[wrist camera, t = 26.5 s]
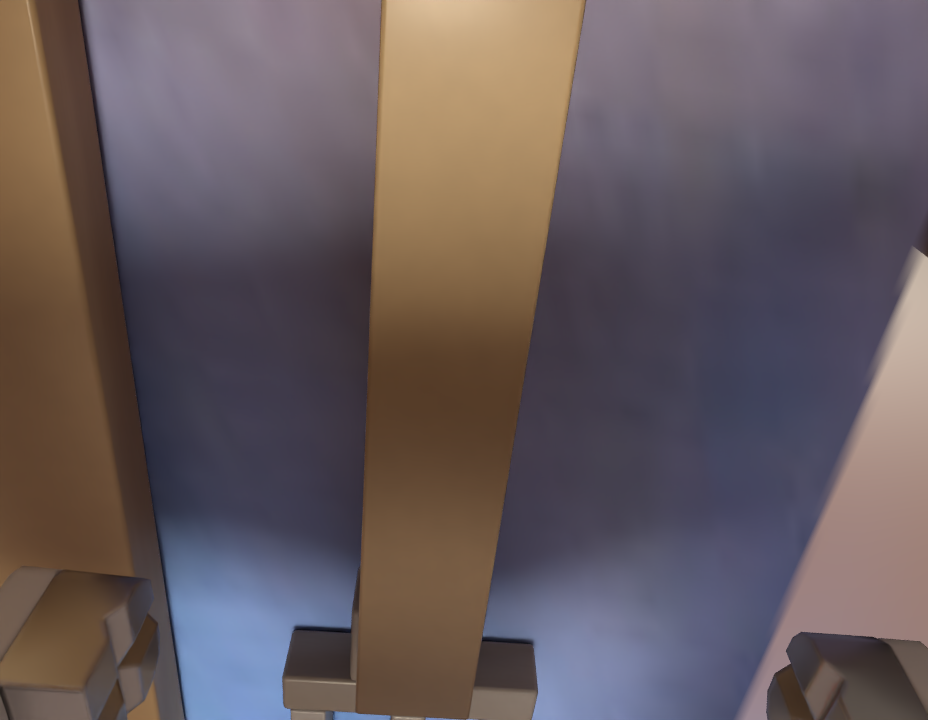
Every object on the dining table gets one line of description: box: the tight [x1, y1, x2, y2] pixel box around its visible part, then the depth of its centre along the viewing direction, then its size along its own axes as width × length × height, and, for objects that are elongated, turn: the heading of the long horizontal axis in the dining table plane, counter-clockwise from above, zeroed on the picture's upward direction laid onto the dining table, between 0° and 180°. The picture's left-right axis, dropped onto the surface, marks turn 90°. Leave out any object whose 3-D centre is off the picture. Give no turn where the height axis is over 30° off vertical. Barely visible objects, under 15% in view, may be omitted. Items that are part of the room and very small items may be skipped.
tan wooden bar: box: [282, 0, 586, 720], centre depth 12 cm, size 18×5×3 cm, turn 174°
